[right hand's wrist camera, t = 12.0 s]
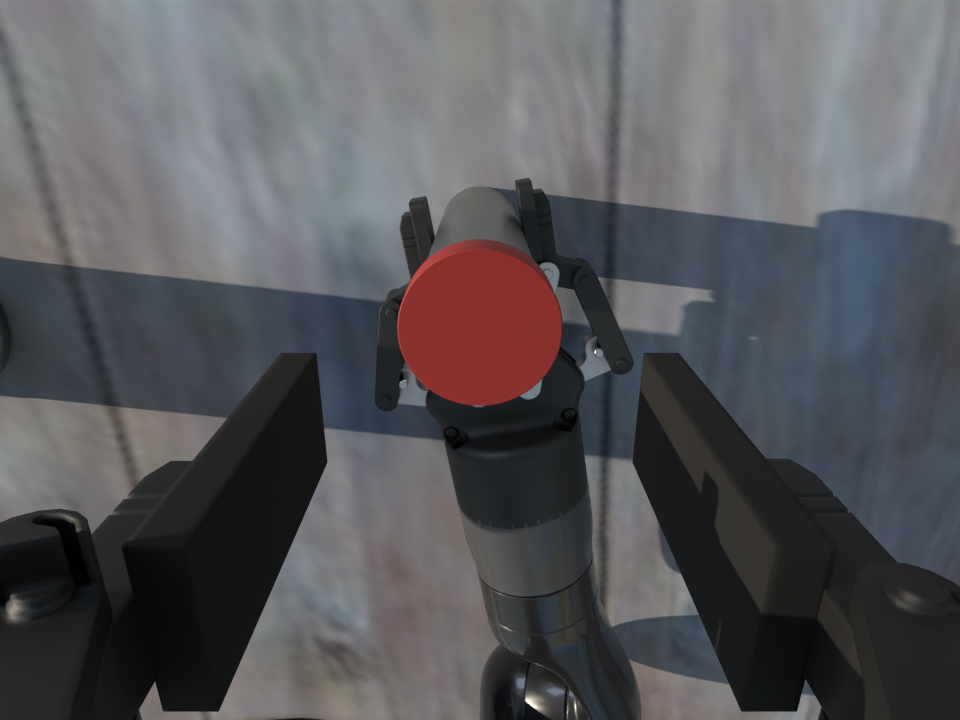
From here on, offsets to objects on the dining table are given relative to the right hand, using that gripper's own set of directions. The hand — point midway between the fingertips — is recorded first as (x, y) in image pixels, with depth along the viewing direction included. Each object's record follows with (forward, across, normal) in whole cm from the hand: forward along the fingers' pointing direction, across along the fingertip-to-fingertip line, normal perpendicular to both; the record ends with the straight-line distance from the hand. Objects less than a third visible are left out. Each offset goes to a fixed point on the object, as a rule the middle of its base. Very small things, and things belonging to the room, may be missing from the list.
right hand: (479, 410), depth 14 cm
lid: (+6, 0, 0) cm, 6 cm away
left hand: (+18, 0, -3) cm, 18 cm away
